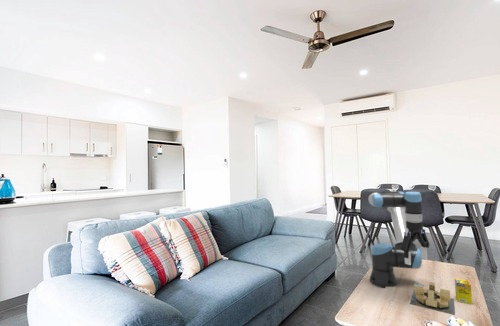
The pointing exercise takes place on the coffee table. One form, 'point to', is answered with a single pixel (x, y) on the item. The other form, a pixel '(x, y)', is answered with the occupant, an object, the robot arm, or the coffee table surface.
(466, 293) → the supplement box
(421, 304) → the flange plate
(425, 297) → the ring nut
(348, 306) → the coffee table surface
